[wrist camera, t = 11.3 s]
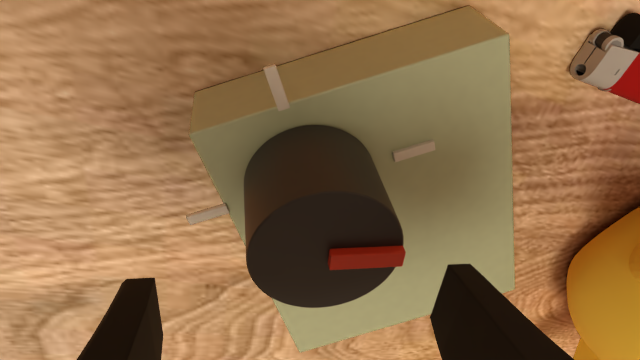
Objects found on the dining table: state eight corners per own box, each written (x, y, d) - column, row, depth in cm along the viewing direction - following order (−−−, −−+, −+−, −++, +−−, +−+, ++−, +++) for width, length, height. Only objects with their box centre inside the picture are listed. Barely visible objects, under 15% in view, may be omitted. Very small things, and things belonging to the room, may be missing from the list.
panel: (141, 69, 16) (124, 113, 14) (466, -35, 16) (512, -10, 13) (267, 308, 24) (272, 364, 21) (486, 243, 24) (517, 292, 21)
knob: (243, 234, 17) (246, 321, 14) (242, 123, 14) (246, 201, 11) (364, 229, 18) (392, 311, 15) (383, 124, 15) (422, 197, 12)
